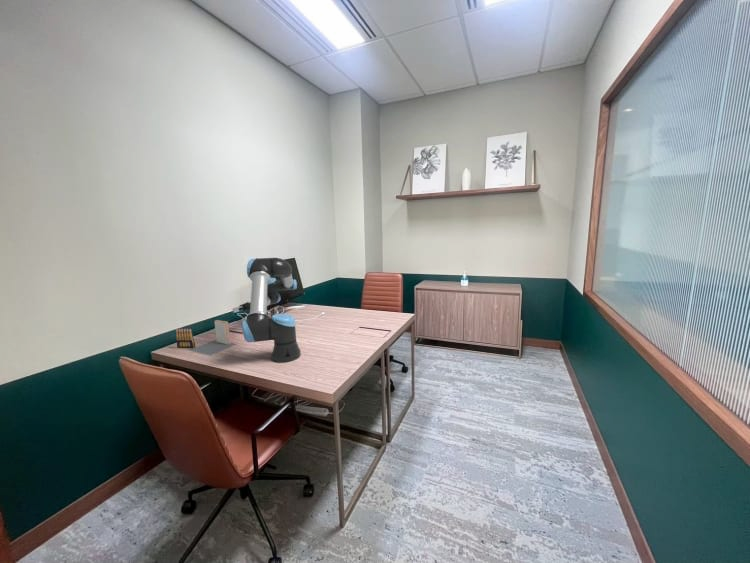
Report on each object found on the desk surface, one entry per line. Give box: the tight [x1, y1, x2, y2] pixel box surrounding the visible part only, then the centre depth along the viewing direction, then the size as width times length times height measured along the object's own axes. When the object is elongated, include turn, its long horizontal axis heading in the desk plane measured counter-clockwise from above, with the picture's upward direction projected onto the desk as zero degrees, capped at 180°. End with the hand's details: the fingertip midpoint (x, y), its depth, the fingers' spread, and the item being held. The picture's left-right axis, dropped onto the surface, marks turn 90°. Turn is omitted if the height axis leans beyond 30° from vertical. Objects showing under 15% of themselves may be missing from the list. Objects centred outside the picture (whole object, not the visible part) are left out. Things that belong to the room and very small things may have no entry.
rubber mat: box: [188, 339, 238, 356], centre depth 177 cm, size 20×18×1 cm
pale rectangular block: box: [214, 319, 232, 344], centre depth 182 cm, size 10×2×14 cm, turn 64°
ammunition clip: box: [175, 328, 196, 349], centre depth 176 cm, size 11×2×12 cm, turn 82°
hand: (233, 310), depth 188 cm, fingers closed
